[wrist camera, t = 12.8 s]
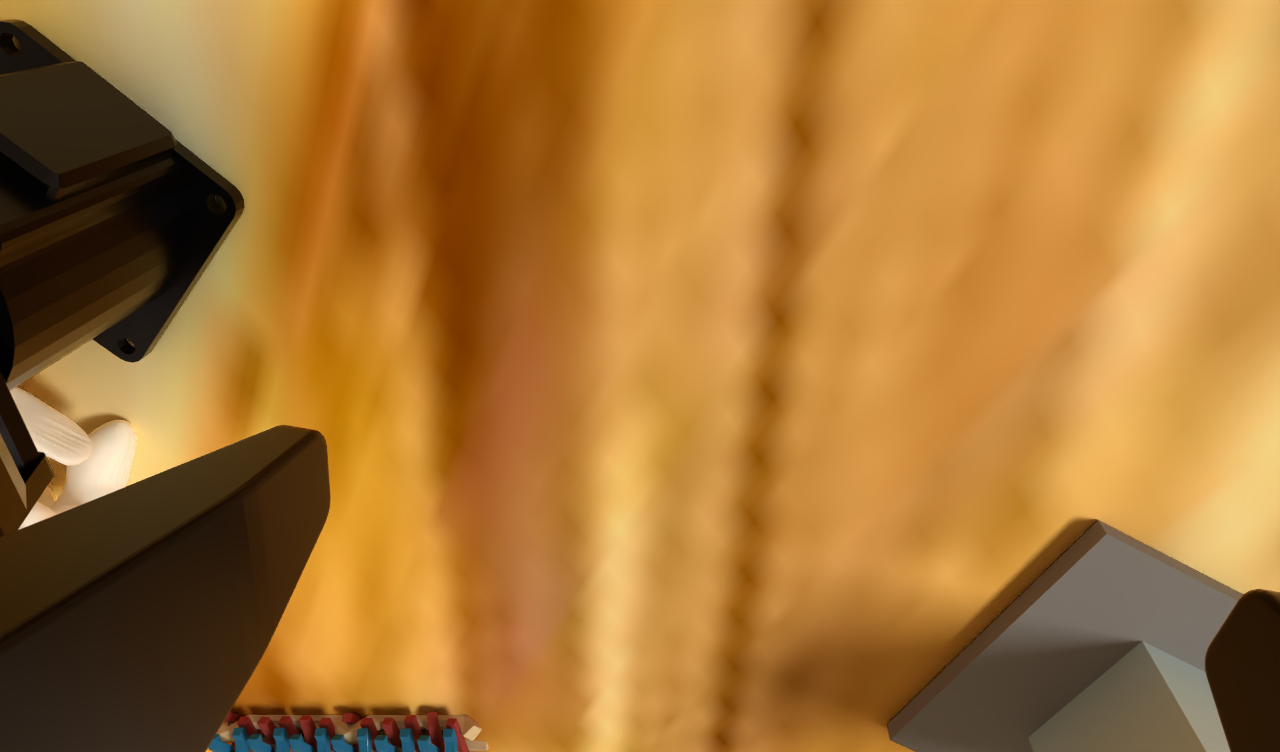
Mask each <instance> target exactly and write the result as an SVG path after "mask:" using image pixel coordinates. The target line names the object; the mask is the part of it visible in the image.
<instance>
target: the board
mask: <svg viewBox="0 0 1280 752" xmlns="http://www.w3.org/2000/svg"><path fill="white" fill-rule="evenodd" d="M1028 739H1029V741H1030V744H1031V747H1032V750H1033V752H1230V749H1229V746H1228V743H1227V740H1226V736H1225V733H1224V730H1223V727H1222V724H1221V721H1220V718H1219V714H1218V711H1217V708H1216V705H1215V702H1214V699H1213V696H1212V692H1211V689H1210V686H1209V683H1208V680H1207V677H1206V672H1204V671H1202V670H1200V669H1198V668H1196V667H1194V666H1192V665H1190V664H1188V663H1186V662H1184V661H1182V660H1180V659H1178V658H1176V657H1174V656H1172V655H1170V654H1168V653H1166V652H1164V651H1162V650H1159V649H1157V648H1155V647H1153V646H1151V645H1149V644H1147V643H1145V642H1143V641H1142V642H1140V643H1139V644H1138V645H1137V646H1136V647H1134V648H1133V649H1132V650H1131V651H1130V652H1128V653H1127V654H1126V655H1125V656H1124V657H1123V658H1121V659H1120V660H1119V661H1118V662H1117V663H1115V664H1114V665H1113V666H1112V667H1111V668H1110V669H1108V670H1107V671H1106V672H1105V673H1104V674H1102V675H1101V676H1100V677H1099V678H1098V679H1097V680H1095V681H1094V682H1093V683H1092V684H1091V685H1089V686H1088V687H1087V688H1086V689H1085V690H1084V691H1082V692H1081V693H1080V694H1079V695H1078V696H1076V697H1075V698H1074V699H1073V700H1072V701H1071V702H1069V703H1068V704H1067V705H1066V706H1065V707H1063V708H1062V709H1061V710H1060V711H1059V712H1058V713H1056V714H1055V715H1054V716H1053V717H1052V718H1050V719H1049V720H1048V721H1047V722H1046V723H1045V724H1043V725H1042V726H1041V727H1040V728H1039V729H1037V730H1036V731H1035V732H1034V733H1033V734H1032V735H1030V736H1029V737H1028Z"/></svg>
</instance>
